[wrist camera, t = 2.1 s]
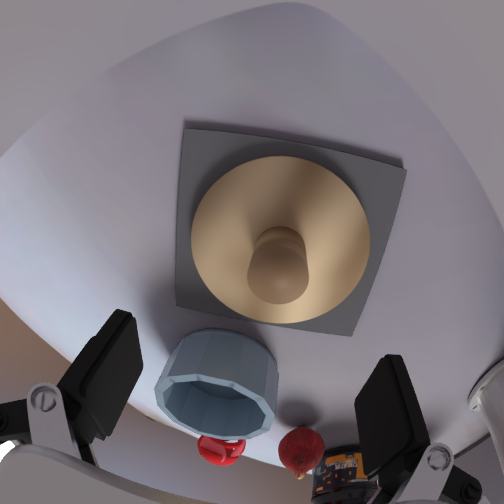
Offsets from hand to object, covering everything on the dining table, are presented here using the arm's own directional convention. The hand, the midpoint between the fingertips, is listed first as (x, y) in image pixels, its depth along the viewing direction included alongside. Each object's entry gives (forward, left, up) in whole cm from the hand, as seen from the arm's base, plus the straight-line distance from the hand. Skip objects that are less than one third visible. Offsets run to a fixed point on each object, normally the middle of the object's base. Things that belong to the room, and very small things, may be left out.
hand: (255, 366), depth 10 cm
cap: (+1, +30, -13) cm, 33 cm away
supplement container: (-19, +35, -13) cm, 42 cm away
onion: (-9, +25, -13) cm, 30 cm away
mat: (-1, 0, -13) cm, 13 cm away
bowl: (+2, +15, -13) cm, 20 cm away
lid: (-1, 0, -12) cm, 12 cm away
